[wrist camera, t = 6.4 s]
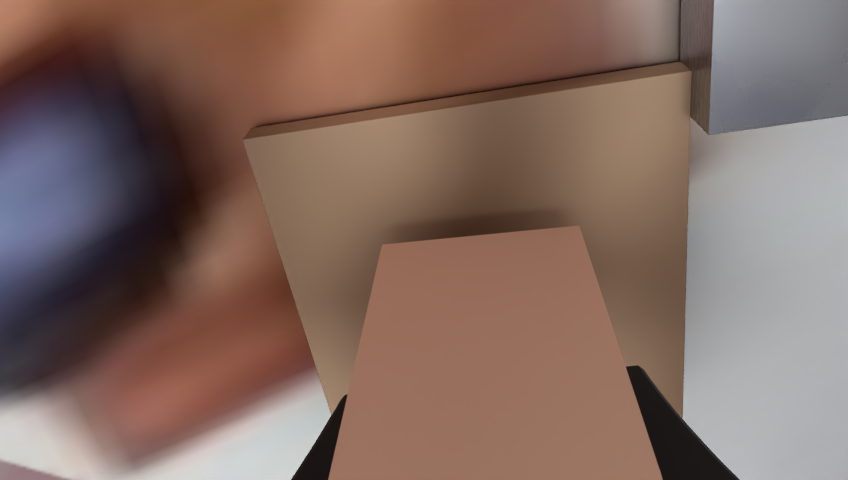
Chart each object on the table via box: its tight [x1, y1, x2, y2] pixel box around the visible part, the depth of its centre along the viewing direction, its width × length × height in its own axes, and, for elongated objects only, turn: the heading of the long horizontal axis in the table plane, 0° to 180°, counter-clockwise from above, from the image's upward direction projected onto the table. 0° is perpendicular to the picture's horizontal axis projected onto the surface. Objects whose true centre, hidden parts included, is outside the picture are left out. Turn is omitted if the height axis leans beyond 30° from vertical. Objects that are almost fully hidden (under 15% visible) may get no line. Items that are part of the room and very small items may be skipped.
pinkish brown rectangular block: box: [328, 226, 663, 480], centre depth 12 cm, size 4×4×8 cm
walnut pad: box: [243, 62, 691, 418], centre depth 17 cm, size 10×10×1 cm
